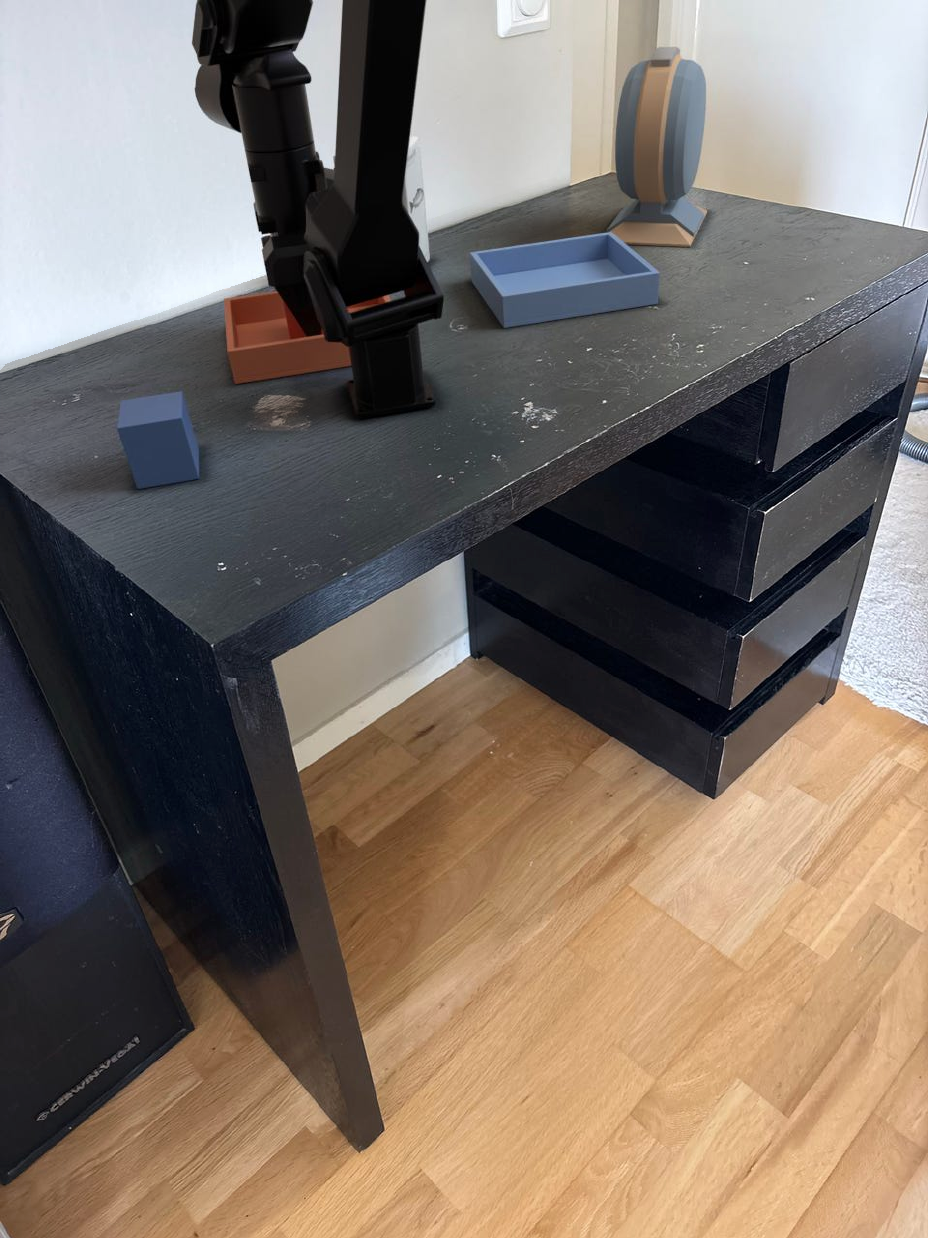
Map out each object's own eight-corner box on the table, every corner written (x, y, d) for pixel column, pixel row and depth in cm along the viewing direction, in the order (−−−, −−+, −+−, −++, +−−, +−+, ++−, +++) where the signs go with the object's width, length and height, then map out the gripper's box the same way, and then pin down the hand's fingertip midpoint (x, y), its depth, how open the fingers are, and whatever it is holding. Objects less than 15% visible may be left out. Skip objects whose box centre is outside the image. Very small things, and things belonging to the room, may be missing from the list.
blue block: (199, 478, 68) (181, 417, 65) (137, 489, 68) (116, 427, 65) (199, 450, 72) (182, 390, 69) (140, 460, 71) (120, 400, 68)
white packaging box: (416, 284, 97) (403, 152, 89) (349, 284, 98) (329, 154, 90) (432, 260, 102) (421, 134, 94) (368, 260, 104) (351, 136, 96)
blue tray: (657, 304, 88) (660, 272, 86) (503, 328, 86) (502, 296, 84) (610, 260, 98) (611, 231, 96) (471, 281, 96) (469, 252, 94)
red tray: (406, 357, 83) (402, 324, 81) (235, 384, 81) (227, 351, 79) (383, 305, 93) (379, 275, 91) (230, 328, 91) (223, 298, 89)
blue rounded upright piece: (626, 207, 112) (633, 36, 101) (708, 209, 109) (724, 34, 98) (598, 246, 102) (603, 61, 91) (688, 249, 99) (704, 59, 88)
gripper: (394, 157, 70) (415, 354, 80) (360, 110, 84) (382, 282, 94) (246, 176, 68) (286, 374, 78) (237, 126, 83) (272, 299, 93)
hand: (312, 328), depth 86 cm, fingers open, 5 cm apart
